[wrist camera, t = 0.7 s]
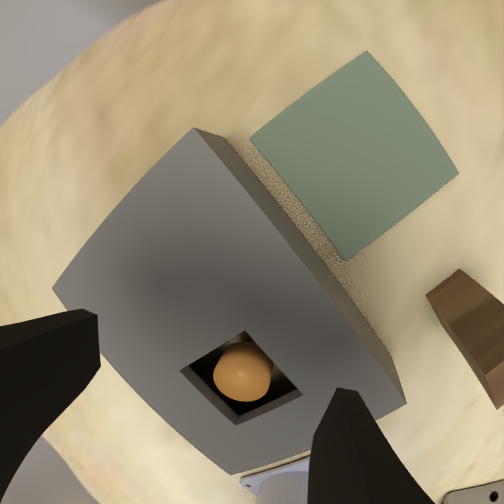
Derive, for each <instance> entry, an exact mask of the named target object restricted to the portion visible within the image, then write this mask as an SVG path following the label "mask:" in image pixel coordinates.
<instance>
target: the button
mask: <svg viewBox="0 0 504 504" xmlns="http://www.w3.org/2000/svg"><path fill="white" fill-rule="evenodd" d="M272 372H273V361H272V360H271V359H270V358H269V357H268V356H267V355H266V353H265V352H264V351H263V350H262V349H261V348H260V347H259V346H258V345H257V344H254V343H250V342H237V343H234V344H231V345H230V346H228V347H227V348H226V349H225V350H224V352H223V354H222V356H221V358H220V360H219V362H218V364H217V366H216V368H215V370H214V374H213V378H214V382H215V384H216V386H217V388H218V389H219V390H220V391H221V392H222V393H223V394H224V395H226V396H228V397H229V398H232V399H234V400H238V401H254V400H257V399H259V398H261V397H262V396H264V395H265V394H266V392H267V391H268V389H269V385H270V380H271V376H272Z"/></svg>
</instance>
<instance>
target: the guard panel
mask: <svg viewBox="0 0 504 504" xmlns="http://www.w3.org/2000/svg"><path fill="white" fill-rule="evenodd" d="M52 289H53V291H54V292H55V294H56V295H57V297H58V298H59V299H60V301H61V302H62V304H63V305H64V306H65V308H66V309H67V311H71V310H76V309H85V310H88V311H90V312H92V313H95V314H97V315H98V333H99V350H100V353H101V354H102V355H103V356H104V357H105V359H106V360H107V361H108V362H109V363H110V364H111V365H112V367H113V368H114V369H115V370H116V371H117V372H118V373H119V374H120V376H121V377H122V378H123V379H124V380H125V381H126V382H127V383H128V384H129V385H130V386H131V387H132V388H133V389H134V391H135V392H136V393H137V394H138V395H139V396H140V397H141V398H142V399H143V400H144V401H145V402H146V403H147V404H148V405H149V406H150V407H151V408H152V409H153V410H154V411H155V412H156V413H157V414H159V415H160V416H161V417H162V418H163V419H164V420H165V421H166V422H167V423H168V424H169V425H170V426H171V427H172V428H174V429H175V430H176V431H177V432H178V433H179V434H180V435H181V436H183V437H184V438H185V439H186V440H187V441H188V442H189V443H191V444H192V445H193V446H194V447H195V448H197V449H198V450H199V451H200V452H201V453H203V454H204V455H205V456H206V457H207V458H209V459H210V460H211V461H213V462H214V463H215V464H216V465H218V466H219V467H220V468H222V469H223V470H224V471H225V472H227V473H228V474H229V475H234V474H238V473H241V472H245V471H248V470H252V469H255V468H259V467H262V466H265V465H268V464H271V463H275V462H278V461H281V460H283V459H286V458H289V457H292V456H295V455H298V454H300V453H303V452H306V451H308V450H311V447H312V441H313V435H314V433H315V431H316V429H317V427H318V425H319V423H320V421H321V419H322V417H323V415H324V413H325V411H326V409H327V407H328V405H329V403H330V401H331V399H332V397H333V395H334V392H335V390H336V388H337V387H339V388H344V389H350V390H355V391H358V392H359V394H360V396H361V397H362V399H363V401H364V402H365V404H366V406H367V408H368V409H369V411H370V413H371V414H372V416H373V418H374V420H377V419H379V418H381V417H383V416H385V415H387V414H389V413H390V412H392V411H394V410H396V409H398V408H400V407H401V406H403V405H405V404H407V402H406V399H405V396H404V392H403V389H402V386H401V383H400V380H399V377H398V374H397V371H396V368H395V365H394V362H393V359H392V357H391V355H390V354H389V352H388V351H387V349H386V348H385V346H384V345H383V343H382V342H381V340H380V339H379V338H378V336H377V335H376V333H375V332H374V330H373V329H372V328H371V326H370V325H369V323H368V322H367V321H366V319H365V318H364V316H363V315H362V314H361V312H360V311H359V309H358V308H357V307H356V305H355V304H354V302H353V301H352V300H351V298H350V297H349V295H348V294H347V293H346V291H345V290H344V289H343V287H342V286H341V285H340V283H339V282H338V280H337V279H336V278H335V276H334V275H333V274H332V272H331V271H330V270H329V268H328V267H327V266H326V264H325V263H324V262H323V260H322V259H321V258H320V256H319V255H318V254H317V252H316V251H315V250H314V249H313V247H312V246H311V245H310V243H309V242H308V241H307V239H306V238H305V237H304V236H303V234H302V233H301V232H300V230H299V229H298V228H297V227H296V225H295V224H294V223H293V221H292V220H291V219H290V218H289V216H288V215H287V214H286V213H285V211H284V210H283V209H282V207H281V206H280V205H279V204H278V202H277V201H276V200H275V199H274V197H273V196H272V195H271V194H270V192H269V191H268V190H267V189H266V188H265V186H264V185H263V184H262V183H261V181H260V180H259V179H258V178H257V176H256V175H255V174H254V173H253V172H252V170H251V169H250V168H249V167H248V166H247V164H246V163H245V162H244V161H243V160H242V158H241V157H240V156H239V155H238V154H237V152H236V151H235V150H234V149H233V148H232V146H231V145H230V144H229V143H228V142H227V141H226V139H225V138H224V137H221V136H218V135H215V134H212V133H209V132H206V131H203V130H200V129H197V128H194V127H193V128H192V129H191V130H190V131H189V132H188V133H187V134H186V135H185V136H183V137H182V138H181V139H180V140H179V141H178V142H177V143H176V144H175V145H174V146H173V147H172V148H171V149H170V150H169V151H168V152H167V153H166V154H165V155H164V156H163V157H162V158H161V159H160V160H159V161H158V162H157V163H156V164H155V165H154V166H153V167H152V168H151V169H150V170H149V171H148V172H147V173H146V174H145V175H144V177H143V178H142V179H141V180H140V181H139V182H138V183H137V184H136V185H135V186H134V187H133V188H132V189H131V191H130V192H129V193H128V194H127V195H126V196H125V197H124V198H123V199H122V200H121V202H120V203H119V204H118V205H117V206H116V207H115V208H114V210H113V211H112V212H111V213H110V214H109V215H108V217H107V218H106V219H105V220H104V221H103V222H102V224H101V225H100V226H99V227H98V228H97V230H96V231H95V232H94V233H93V235H92V236H91V237H90V238H89V239H88V241H87V242H86V243H85V244H84V246H83V247H82V248H81V250H80V251H79V252H78V253H77V255H76V256H75V257H74V259H73V260H72V261H71V263H70V264H69V265H68V267H67V268H66V269H65V271H64V272H63V273H62V275H61V276H60V277H59V279H58V280H57V282H56V283H55V284H54V286H53V287H52ZM244 330H245V331H246V332H247V333H248V334H249V335H250V337H251V338H252V339H253V340H254V341H255V342H256V343H257V345H258V346H259V347H260V348H261V349H262V350H263V351H264V352H265V353H266V355H267V356H268V357H269V358H270V359H271V360H272V361H273V362H274V363H275V365H276V366H277V367H278V368H279V369H280V370H281V371H282V372H283V373H284V374H285V376H286V377H287V378H288V379H289V380H290V381H291V382H292V383H293V384H294V385H295V386H296V387H297V388H298V389H296V390H294V391H292V392H290V393H288V394H286V395H284V396H282V397H280V398H278V399H276V400H274V401H271V402H269V403H267V404H265V405H263V406H261V407H259V408H256V409H254V410H252V411H250V412H247V413H245V414H243V415H239V414H238V413H236V412H235V411H234V410H233V409H232V408H231V407H230V406H229V405H228V404H227V403H226V402H225V401H224V400H223V399H222V398H221V397H220V396H219V395H218V394H217V393H216V392H215V391H214V390H213V389H212V388H211V387H210V386H209V385H208V384H207V383H206V382H205V381H204V380H203V379H202V378H201V377H200V376H199V375H198V374H197V373H196V372H195V371H194V370H193V369H192V367H191V366H190V365H189V364H191V363H193V362H194V361H196V360H198V359H199V358H201V357H203V356H204V355H206V354H208V353H209V352H211V351H212V350H214V349H216V348H217V347H219V346H221V345H222V344H224V343H225V342H227V341H229V340H230V339H232V338H233V337H235V336H237V335H238V334H240V333H241V332H243V331H244Z"/></svg>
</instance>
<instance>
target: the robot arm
mask: <svg viewBox="0 0 504 504" xmlns="http://www.w3.org/2000/svg"><path fill="white" fill-rule="evenodd" d="M100 367H101V362H100V350H99V333H98V315H97V314H95V313H92V312H90V311H88V310H85V309H76V310H71V311H66V312H61V313H57V314H53V315H49V316H45V317H41V318H37V319H32V320H28V321H24V322H20V323H15V324H10V325H5V326H0V503H1V500H2V498H3V495H4V493H5V491H6V489H7V487H8V485H9V484H10V482H11V480H12V478H13V476H14V474H15V473H16V471H17V469H18V468H19V466H20V464H21V463H22V461H23V460H24V458H25V456H26V455H27V454H28V452H29V451H30V450H31V448H32V447H33V445H34V444H35V442H36V441H37V440H38V438H39V437H40V436H41V435H42V434H43V432H44V431H45V430H46V429H47V428H48V427H49V426H50V425H51V424H52V423H53V422H54V421H55V420H56V419H57V418H58V417H59V416H60V414H61V413H62V412H63V411H64V410H65V409H66V408H67V407H68V406H69V405H70V404H71V403H72V402H73V401H74V400H75V399H76V398H77V397H78V396H79V395H80V394H81V393H82V391H83V390H84V389H85V388H86V387H87V385H88V384H89V383H90V381H91V380H92V379H93V377H94V376H95V374H96V373H97V371H98V370H99V368H100ZM239 483H240V484H241V485H243V486H244V487H246V488H247V489H248V490H250V491H251V492H253V493H254V494H256V495H257V500H256V504H435V503H434V502H433V501H432V500H431V498H430V497H429V496H428V495H427V494H426V493H425V492H424V490H423V489H422V488H421V487H420V486H419V485H418V483H417V482H416V481H415V480H414V478H413V477H412V476H411V474H410V473H409V472H408V470H407V469H406V468H405V466H404V465H403V463H402V462H401V461H400V459H399V458H398V456H397V455H396V453H395V452H394V450H393V449H392V447H391V446H390V444H389V443H388V441H387V439H386V438H385V436H384V435H383V433H382V431H381V430H380V428H379V426H378V425H377V423H376V421H375V420H374V418H373V416H372V414H371V413H370V411H369V409H368V408H367V406H366V404H365V402H364V401H363V399H362V397H361V396H360V394H359V392H358V391H355V390H350V389H344V388H339V387H337V388H336V390H335V392H334V395H333V397H332V399H331V401H330V403H329V405H328V407H327V409H326V411H325V413H324V415H323V417H322V419H321V421H320V423H319V425H318V427H317V429H316V431H315V433H314V435H313V441H312V447H311V454H310V457H307V458H304V459H302V460H299V461H296V462H293V463H290V464H287V465H284V466H281V467H278V468H275V469H272V470H268V471H265V472H262V473H258V474H255V475H251V476H247V477H244V478H241V479H240V481H239Z"/></svg>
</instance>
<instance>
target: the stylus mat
mask: <svg viewBox="0 0 504 504" xmlns="http://www.w3.org/2000/svg"><path fill="white" fill-rule="evenodd" d="M249 139H250V141H251V142H252V143H253V144H254V145H255V146H256V148H257V149H258V150H259V151H260V152H261V154H262V155H263V156H264V157H265V158H266V160H267V161H268V162H269V163H270V164H271V166H272V167H273V168H274V169H275V171H276V172H277V173H278V174H279V175H280V177H281V178H282V179H283V180H284V182H285V183H286V184H287V185H288V187H289V188H290V189H291V190H292V192H293V193H294V194H295V195H296V197H297V198H298V199H299V200H300V202H301V203H302V204H303V206H304V207H305V208H306V209H307V211H308V212H309V213H310V215H311V216H312V217H313V218H314V220H315V221H316V222H317V224H318V225H319V226H320V228H321V229H322V230H323V232H324V233H325V234H326V236H327V237H328V238H329V240H330V241H331V242H332V244H333V245H334V246H335V248H336V249H337V250H338V252H339V253H340V255H341V256H342V257H343V259H344V260H345V261H347V260H348V259H349V258H351V257H352V256H354V255H355V254H356V253H358V252H359V251H360V250H362V249H363V248H365V247H366V246H367V245H369V244H370V243H371V242H373V241H374V240H375V239H377V238H378V237H379V236H381V235H382V234H383V233H385V232H386V231H387V230H389V229H390V228H391V227H393V226H394V225H395V224H396V223H398V222H399V221H400V220H402V219H403V218H404V217H406V216H407V215H408V214H409V213H411V212H412V211H413V210H414V209H416V208H417V207H418V206H420V205H421V204H422V203H423V202H425V201H426V200H427V199H428V198H430V197H431V196H432V195H433V194H435V193H436V192H437V191H438V190H439V189H441V188H442V187H443V186H444V185H446V184H447V183H448V182H449V181H450V180H452V179H453V178H454V177H455V176H456V175H458V174H459V172H458V171H457V169H456V167H455V165H454V164H453V162H452V161H451V159H450V157H449V156H448V154H447V153H446V151H445V149H444V148H443V146H442V145H441V143H440V142H439V140H438V139H437V137H436V136H435V134H434V133H433V131H432V130H431V128H430V127H429V126H428V124H427V123H426V121H425V120H424V119H423V117H422V116H421V114H420V113H419V112H418V110H417V109H416V108H415V106H414V105H413V104H412V102H411V101H410V100H409V99H408V97H407V96H406V95H405V93H404V92H403V91H402V90H401V89H400V87H399V86H398V85H397V84H396V82H395V81H394V80H393V79H392V78H391V77H390V75H389V74H388V73H387V72H386V71H385V70H384V68H383V67H382V66H381V65H380V64H379V63H378V62H377V61H376V59H375V58H374V57H373V56H372V55H371V54H370V53H369V52H368V51H365V52H364V53H362V54H361V55H359V56H358V57H356V58H355V59H353V60H352V61H350V62H349V63H347V64H346V65H345V66H343V67H342V68H340V69H339V70H337V71H336V72H335V73H333V74H332V75H330V76H329V77H328V78H326V79H325V80H323V81H322V82H321V83H319V84H318V85H317V86H315V87H314V88H312V89H311V90H310V91H308V92H307V93H306V94H304V95H303V96H302V97H300V98H299V99H298V100H296V101H295V102H294V103H293V104H291V105H290V106H289V107H287V108H286V109H285V110H284V111H282V112H281V113H280V114H278V115H277V116H276V117H275V118H273V119H272V120H271V121H270V122H268V123H267V124H266V125H265V126H263V127H262V128H261V129H260V130H259V131H257V132H256V133H255V134H254V135H252V136H251V137H250V138H249Z"/></svg>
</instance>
